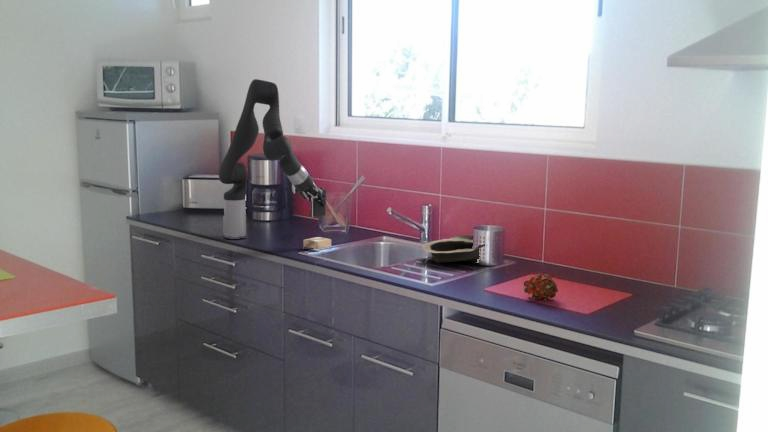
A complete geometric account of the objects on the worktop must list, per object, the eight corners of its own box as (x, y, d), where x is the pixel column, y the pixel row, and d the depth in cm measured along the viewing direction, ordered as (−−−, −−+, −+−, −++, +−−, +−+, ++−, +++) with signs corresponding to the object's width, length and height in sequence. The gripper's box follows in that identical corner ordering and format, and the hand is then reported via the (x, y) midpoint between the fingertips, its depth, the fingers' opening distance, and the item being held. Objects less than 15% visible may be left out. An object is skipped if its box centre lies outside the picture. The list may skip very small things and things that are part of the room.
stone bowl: (500, 260, 274) (500, 236, 272) (464, 277, 255) (463, 252, 253) (446, 250, 289) (446, 228, 287) (408, 266, 270) (408, 242, 268)
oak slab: (303, 249, 292) (303, 239, 292) (316, 246, 299) (316, 236, 298) (318, 251, 288) (318, 241, 287) (331, 248, 294) (331, 238, 293)
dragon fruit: (555, 309, 215) (524, 306, 225) (568, 289, 219) (538, 286, 229) (542, 289, 212) (512, 286, 221) (556, 269, 216) (526, 267, 225)
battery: (319, 214, 295) (320, 187, 293) (326, 216, 292) (326, 188, 291) (306, 216, 290) (307, 188, 288) (313, 217, 287) (314, 189, 285)
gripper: (317, 170, 278) (337, 199, 289) (290, 168, 286) (311, 196, 298) (308, 185, 275) (329, 213, 286) (281, 182, 283) (303, 210, 294)
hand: (320, 204), depth 292 cm, fingers closed on battery, 4 cm apart
